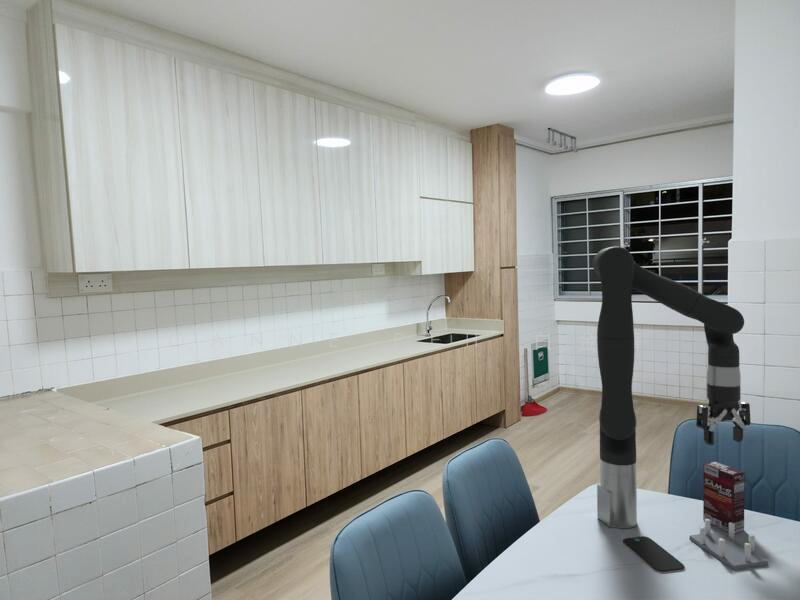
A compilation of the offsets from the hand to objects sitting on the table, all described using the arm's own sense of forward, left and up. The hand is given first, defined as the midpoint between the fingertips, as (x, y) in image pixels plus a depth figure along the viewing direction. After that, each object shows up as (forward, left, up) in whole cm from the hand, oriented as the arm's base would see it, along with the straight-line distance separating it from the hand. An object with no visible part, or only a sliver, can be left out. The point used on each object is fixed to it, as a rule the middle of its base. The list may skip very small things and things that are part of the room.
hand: (723, 442), depth 137 cm
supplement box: (0, 0, -23) cm, 23 cm away
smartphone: (-27, -8, -23) cm, 36 cm away
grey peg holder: (-9, -11, -22) cm, 27 cm away
